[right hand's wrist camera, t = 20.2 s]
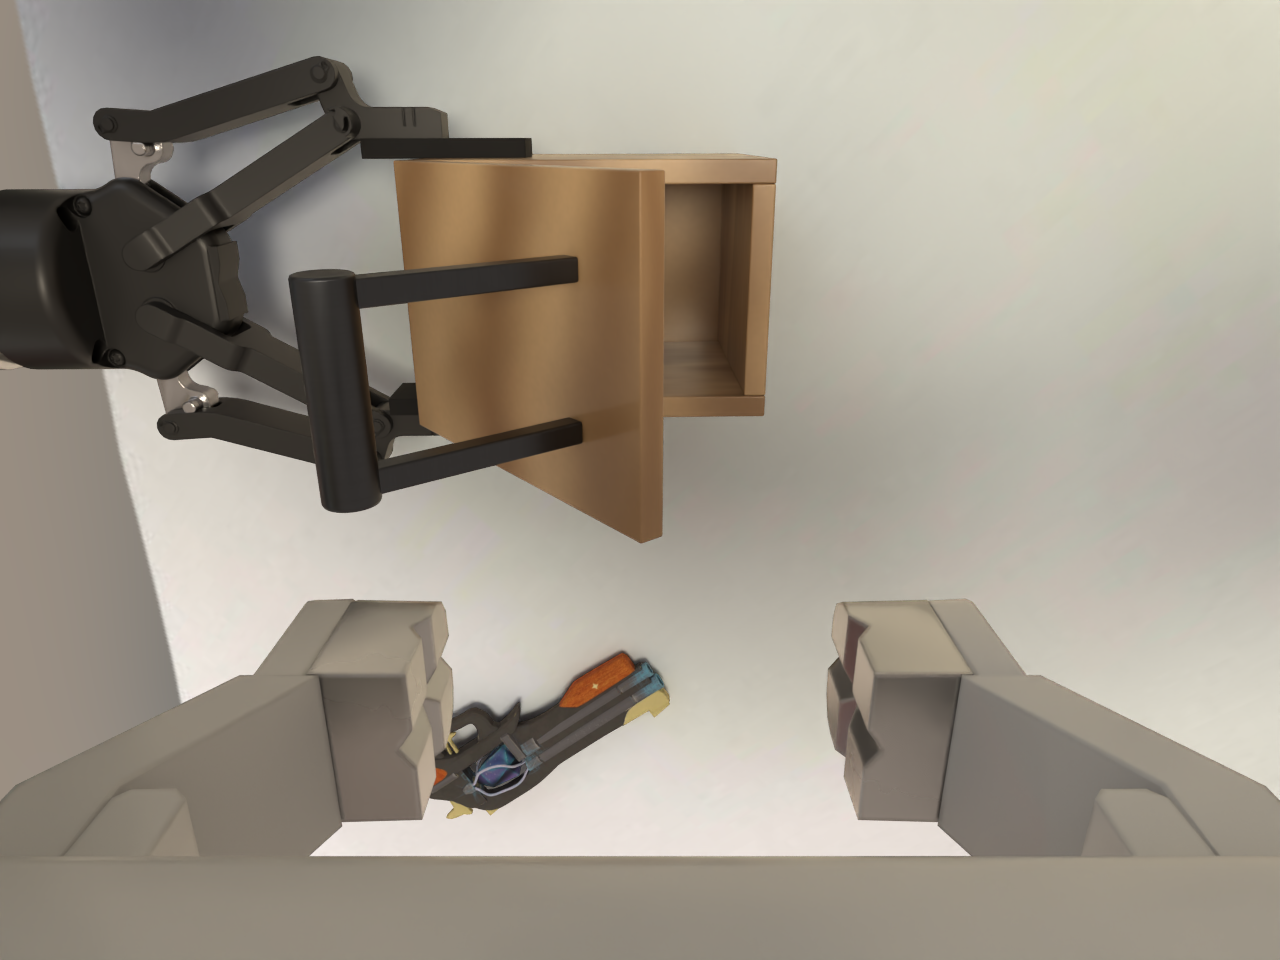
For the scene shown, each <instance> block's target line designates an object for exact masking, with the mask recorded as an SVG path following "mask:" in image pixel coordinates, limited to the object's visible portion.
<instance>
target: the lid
mask: <svg viewBox="0 0 1280 960" xmlns="http://www.w3.org/2000/svg"><path fill="white" fill-rule="evenodd" d="M394 171H395V181H396V191H397V201H398V211H399V221H400V231H401V241H402V251H403V261H404V270H400V271H390V272H379V273H369V274H358V275H355V274H354V272H351V271H348V270H340V269H321V270H308V271H301V272H296V273H293V274H291V275H289V278H288V281H289V288H290V294H291V301H292V308H293V315H294V321H295V328H296V335H297V342H298V348H299V355H300V362H301V369H302V375H303V382H304V389H305V396H306V402H307V409H308V416H309V422H310V429H311V436H312V443H313V449H314V456H315V463H316V470H317V476H318V483H319V490H320V497H321V503H322V506H323V507H324V508H325V509H326V510H328V511H331V512H337V513H350V512H358V511H362V510H366V509H369V508H372V507H374V506H376V505H377V504H378V503H379V502H380V501H381V499H382V494H383V493H387V492H391V491H395V490H399V489H403V488H407V487H411V486H415V485H419V484H423V483H427V482H431V481H435V480H439V479H443V478H447V477H451V476H455V475H459V474H462V473H466V472H470V471H474V470H478V469H482V468H486V467H490V466H494V465H496V466H498V467H500V468H502V469H503V470H505V471H507V472H509V473H511V474H513V475H515V476H516V477H518V478H520V479H522V480H524V481H526V482H528V483H529V484H531V485H533V486H535V487H537V488H539V489H541V490H542V491H544V492H546V493H548V494H550V495H552V496H554V497H555V498H557V499H559V500H561V501H563V502H565V503H567V504H569V505H570V506H572V507H574V508H576V509H578V510H580V511H582V512H583V513H585V514H587V515H589V516H591V517H593V518H595V519H596V520H598V521H600V522H602V523H604V524H606V525H608V526H609V527H611V528H613V529H615V530H617V531H619V532H621V533H622V534H624V535H626V536H628V537H630V538H632V539H634V540H635V541H637V542H639V543H644V542H647V541H650V540H653V539H656V538H658V537H661V536H662V520H663V379H664V237H665V171H664V170H660V169H633V168H607V167H581V166H555V165H528V164H502V163H476V162H450V161H423V160H395V161H394ZM403 303H408V311H409V321H410V331H411V341H412V351H413V361H414V371H415V381H416V391H417V401H418V411H419V421H420V425H422V426H424V427H425V428H427V429H429V430H431V431H433V432H435V433H437V434H438V435H440V436H442V437H444V438H446V439H448V440H450V441H451V442H453V444H449V445H445V446H440V447H436V448H432V449H427V450H423V451H418V452H414V453H410V454H405V455H401V456H396V457H392V458H388V459H383V460H379V461H378V459H377V450H376V442H375V434H374V425H373V417H372V409H371V400H370V392H369V384H368V375H367V367H366V359H365V351H364V342H363V334H362V326H361V317H360V309H361V308H370V307H378V306H386V305H395V304H403Z"/></svg>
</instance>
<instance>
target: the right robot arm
mask: <svg viewBox="0 0 1280 960" xmlns="http://www.w3.org/2000/svg"><path fill="white" fill-rule="evenodd" d="M448 637H449V633H448V625H447V617H446V610H445V608H444V606H443V604H442V602H437V601H383V600H357V601H355V600H353V599H336V600H313V601H308V602H307V603H306V604H305V605H304V606H303V608H302V609H301V610H300V612H299V613H298V615H297V616H296V617H295V619H294V620H293V621H292V623H291V624H290V626H289V627H288V628H287V630H286V631H285V632H284V634H283V635H282V637H281V638H280V639H279V641H278V642H277V643H276V645H275V646H274V648H273V649H272V650H271V652H270V653H269V654H268V656H267V657H266V659H265V660H264V661H263V663H262V664H261V665H260V667H259V668H258V670H257V671H256V672H255V674H254V675H239V676H237V677H235V678H233V679H231V680H229V681H227V682H225V683H223V684H221V685H219V686H217V687H215V688H213V689H211V690H209V691H207V692H205V693H203V694H201V695H199V696H196V697H194V698H192V699H190V700H188V701H186V702H184V703H182V704H180V705H178V706H176V707H174V708H172V709H170V710H168V711H166V712H164V713H162V714H160V715H158V716H156V717H154V718H152V719H150V720H148V721H146V722H144V723H141V724H139V725H137V726H135V727H133V728H131V729H129V730H127V731H125V732H123V733H121V734H119V735H117V736H115V737H113V738H111V739H109V740H107V741H105V742H103V743H101V744H99V745H97V746H95V747H93V748H91V749H89V750H86V751H84V752H82V753H80V754H78V755H76V756H74V757H72V758H70V759H68V760H66V761H64V762H62V763H60V764H58V765H56V766H54V767H52V768H50V769H48V770H46V771H44V772H42V773H40V774H38V775H36V776H34V777H32V778H30V779H27V780H25V781H23V782H21V783H19V784H17V785H16V786H15V787H14V788H13V789H12V790H11V791H10V792H9V793H8V794H7V795H6V796H5V797H4V798H3V799H2V800H1V801H0V960H1280V800H1279V799H1278V798H1277V797H1276V796H1275V795H1274V794H1273V793H1272V792H1271V791H1270V790H1269V789H1268V788H1267V787H1266V786H1264V785H1262V784H1260V783H1258V782H1256V781H1254V780H1252V779H1250V778H1248V777H1246V776H1244V775H1242V774H1240V773H1238V772H1236V771H1234V770H1232V769H1230V768H1228V767H1226V766H1223V765H1221V764H1219V763H1217V762H1215V761H1213V760H1211V759H1209V758H1207V757H1205V756H1203V755H1201V754H1199V753H1197V752H1195V751H1193V750H1191V749H1189V748H1187V747H1185V746H1183V745H1181V744H1179V743H1177V742H1175V741H1173V740H1171V739H1169V738H1167V737H1165V736H1163V735H1161V734H1159V733H1157V732H1154V731H1152V730H1150V729H1148V728H1146V727H1144V726H1142V725H1140V724H1138V723H1136V722H1134V721H1132V720H1130V719H1128V718H1126V717H1124V716H1122V715H1120V714H1118V713H1116V712H1114V711H1112V710H1110V709H1108V708H1106V707H1104V706H1102V705H1100V704H1098V703H1096V702H1094V701H1092V700H1090V699H1087V698H1085V697H1083V696H1081V695H1079V694H1077V693H1075V692H1073V691H1071V690H1069V689H1067V688H1065V687H1063V686H1061V685H1059V684H1057V683H1055V682H1053V681H1051V680H1049V679H1047V678H1045V677H1043V676H1041V675H1026V674H1025V672H1024V671H1023V670H1022V668H1021V667H1020V666H1019V664H1018V663H1017V661H1016V660H1015V659H1014V657H1013V656H1012V655H1011V653H1010V652H1009V651H1008V649H1007V648H1006V646H1005V645H1004V644H1003V642H1002V641H1001V640H1000V638H999V637H998V636H997V634H996V633H995V631H994V630H993V629H992V627H991V626H990V625H989V623H988V622H987V621H986V619H985V618H984V616H983V615H982V614H981V612H980V611H979V610H978V608H977V607H976V606H975V604H974V603H973V602H971V601H969V600H967V599H951V600H929V601H927V600H903V601H861V602H841V603H837V604H836V608H835V611H834V615H833V623H832V633H831V637H832V639H833V642H834V645H835V647H836V650H837V653H838V655H839V657H838V658H837V660H836V661H835V662H834V663H833V664H832V665H831V666H830V667H829V668H828V678H827V717H828V723H829V729H830V734H831V737H832V741H833V744H834V747H835V750H837V751H838V752H839V753H841V754H842V755H843V756H845V757H846V758H845V769H844V779H845V782H846V785H847V788H848V791H849V794H850V797H851V800H852V803H853V806H854V809H855V812H856V815H857V818H858V820H882V821H919V822H938V826H939V827H940V828H941V829H942V830H943V831H944V832H945V833H946V834H948V835H949V836H950V837H951V838H952V839H953V840H954V841H955V842H956V843H958V844H959V845H960V846H961V847H962V848H963V849H964V850H965V851H966V852H968V853H969V854H970V855H971V856H310V855H311V854H312V853H313V852H314V851H315V850H316V849H317V848H318V847H320V846H321V845H322V844H323V843H324V842H325V841H326V840H327V839H328V838H330V837H331V836H332V835H333V834H334V833H335V832H336V831H337V830H338V829H340V828H341V827H342V822H360V821H396V820H422V819H423V816H424V813H425V810H426V807H427V803H428V800H429V797H430V794H431V791H432V788H433V785H434V782H435V779H436V769H435V758H434V757H435V756H437V755H438V754H439V753H441V752H442V751H444V750H445V748H446V744H447V741H448V737H449V734H450V729H451V721H452V714H453V676H452V668H451V667H450V666H449V665H448V664H447V663H446V662H445V661H444V659H443V658H442V657H441V656H442V653H443V650H444V647H445V645H446V642H447V639H448Z"/></svg>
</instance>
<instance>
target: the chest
mask: <svg viewBox="0 0 1280 960" xmlns="http://www.w3.org/2000/svg"><path fill="white" fill-rule="evenodd" d="M412 160H423V161H450V162H476V163H502V164H528V165H555V166H581V167H607V168H633V169H660V170H664V171H665V237H664V379H663V417H708V416H763V415H764V407H765V396H764V395H765V387H766V368H767V348H768V329H769V309H770V290H771V270H772V251H773V231H774V212H775V192H776V185H775V183H776V174H777V159H775V158H768V157H760V156H753V155H745V154H532V157H527V158H422V159H412Z"/></svg>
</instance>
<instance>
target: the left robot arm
mask: <svg viewBox="0 0 1280 960" xmlns="http://www.w3.org/2000/svg"><path fill="white" fill-rule="evenodd" d="M352 81H353V77H352V73H351V71H350V69H349V67H347V66H346V65H345V64H344V63H341V62H338V61H335V60H331V59H328V58H324V57H320V56H316V57H311V58H308V59H305V60H302V61H299V62H296V63H293V64H290V65H287V66H284V67H281V68H278V69H275V70H272V71H269V72H266V73H263V74H260V75H257V76H254V77H250V78H247V79H244V80H241V81H238V82H235V83H232V84H229V85H226V86H223V87H220V88H217V89H214V90H211V91H208V92H205V93H202V94H199V95H196V96H193V97H190V98H187V99H184V100H181V101H178V102H175V103H172V104H169V105H166V106H163V107H160V108H157V109H154V110H151V111H149V110H135V109H119V108H101V109H99V110H98V111H96V113H95V115H94V117H93V125H94V127H95V130H96V131H97V133H98V134H99V135H100V136H101V137H103V138H104V139H107V140H110V145H111V152H112V159H113V165H114V172H115V179H113V180H111V181H109V182H108V183H107V184H105V185H104V186H102V187H100V188H97V189H21V190H20V189H16V190H1V191H0V370H12V369H17V368H21V367H26V368H30V369H131V370H135V371H138V372H141V373H143V374H145V375H147V376H149V377H151V378H154V379H157V382H158V385H159V389H160V393H161V396H162V400H163V403H164V407H165V411H166V414H164V415H163V416H161V417H160V418H159V419H158V422H157V429H158V431H159V433H160V434H161V435H162V436H163V437H165V438H167V439H169V440H183V439H197V438H211V437H212V438H216V439H220V440H224V441H227V442H231V443H235V444H239V445H243V446H247V447H251V448H255V449H259V450H263V451H267V452H271V453H275V454H279V455H283V456H287V457H291V458H295V459H299V460H303V461H307V462H311V463H314V464H316V463H315V456H314V449H313V443H312V436H311V429H310V422H309V416H306V415H302V414H298V413H294V412H290V411H286V410H283V409H279V408H275V407H271V406H267V405H263V404H259V403H255V402H252V401H248V400H243V399H238V398H228V397H218V392H217V390H215V389H214V388H210V387H208V386H204V385H199V384H197V383H195V382H194V381H193V380H192V379H191V378H190V376H189V374H188V371H189V370H190V369H191V368H193V367H194V366H195V365H196V364H198V363H199V362H200V361H201V360H202V359H206V360H208V361H210V362H212V363H214V364H216V365H218V366H220V367H222V368H225V369H227V370H231V371H239V372H242V373H245V374H247V375H249V376H251V377H253V378H255V379H257V380H259V381H261V382H263V383H265V384H267V385H269V386H271V387H273V388H275V389H277V390H279V391H281V392H283V393H284V394H286V395H288V396H290V397H292V398H294V399H296V400H298V401H300V402H302V403H304V404H306V405H307V402H306V396H305V389H304V382H303V375H302V369H301V362H300V355H299V350H298V349H296V348H294V347H292V346H290V345H288V344H286V343H284V342H282V341H280V340H278V339H276V338H274V337H273V336H272V335H271V334H270V332H269V331H268V330H267V329H265V328H263V327H261V326H260V325H258V324H256V323H254V322H252V321H250V320H248V319H246V318H244V317H243V316H244V314H245V313H247V312H248V307H247V301H246V295H245V293H244V291H243V288H242V286H241V284H240V281H239V279H238V269H239V253H238V247H237V241H231V239H230V237H229V235H228V233H227V232H228V231H230V230H231V229H233V228H234V227H236V226H237V225H239V224H241V223H242V222H244V221H245V220H247V219H248V218H249V217H250V216H251V215H252V214H253V213H254V212H256V211H257V210H259V209H260V208H262V207H263V206H265V205H266V204H268V203H269V202H271V201H272V200H274V199H275V198H277V197H278V196H280V195H281V194H283V193H284V192H286V191H287V190H289V189H290V188H292V187H294V186H295V185H297V184H298V183H300V182H301V181H303V180H304V179H306V178H307V177H309V176H310V175H312V174H313V173H315V172H316V171H318V170H319V169H321V168H322V167H324V166H325V165H327V164H328V163H330V162H331V161H333V160H334V159H336V158H337V157H339V156H341V155H342V154H344V153H345V152H347V151H348V150H350V149H351V148H353V147H354V146H356V145H357V144H359V143H360V144H361V153H362V159H422V158H527V157H532V141H531V138H449V132H448V119H447V113H445V112H442V111H440V110H438V109H435V108H430V107H370V106H368V105H367V104H365V103H364V102H363V101H362V100H361V98H360V97H359V95H358V93H357V91H356V88H355V86H354V84H353V82H352ZM317 101H320V103H321V105H322V108H323V110H324V112H325V114H324V115H323V116H321V117H320V118H319V119H317V120H316V121H314V122H313V123H311V124H310V125H308V126H307V127H305V128H304V129H302V130H301V131H299V132H298V133H296V134H295V135H293V136H292V137H290V138H289V139H287V140H286V141H284V142H283V143H281V144H280V145H278V146H277V147H275V148H274V149H272V150H271V151H269V152H268V153H266V154H265V155H263V156H262V157H260V158H259V159H257V160H256V161H254V162H253V163H252V164H250V165H249V166H247V167H246V168H244V169H243V170H241V171H240V172H238V173H237V174H235V175H234V176H232V177H231V178H229V179H228V180H226V181H225V182H223V183H222V184H220V185H219V186H217V187H216V188H214V189H213V190H211V191H209V192H208V193H205V194H203V195H201V196H199V197H197V198H195V199H194V200H192V201H190V202H189V203H187V202H185V201H184V200H182V199H181V198H179V197H178V196H176V195H175V194H173V193H172V192H170V191H169V190H167V189H166V188H164V187H163V186H161V185H160V184H158V183H157V182H155V181H153V180H151V171H152V169H153V167H154V166H155V165H157V164H160V163H164V162H167V161H168V160H170V158H171V157H172V154H173V151H174V147H173V144H172V143H183V142H192V141H196V140H200V139H204V138H207V137H210V136H213V135H216V134H219V133H222V132H225V131H228V130H231V129H234V128H238V127H241V126H244V125H247V124H250V123H253V122H256V121H259V120H262V119H265V118H268V117H271V116H274V115H277V114H280V113H283V112H286V111H289V110H293V109H296V108H299V107H302V106H305V105H308V104H311V103H314V102H317ZM369 392H370V400H371V409H372V417H373V425H374V434H375V442H376V450H377V459H378V461H379V460H383V459H388V458H389V457H390V455H391V454H392V451H393V443H394V439H395V438H396V437H398V436H432V435H438V434H437V433H435V432H433V431H431V430H429V429H427V428H425V427H424V426H422V425H420V421H419V411H418V401H417V391H416V383H402V385H401V386H400V387H399V388H398V389H397V390H396V391H395V392H394V394H393V395H392V396H391V397H389V396H387V395H385V394H383V393H381V392H379V391H377V390H375V389H373V388H371V387H369Z"/></svg>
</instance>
